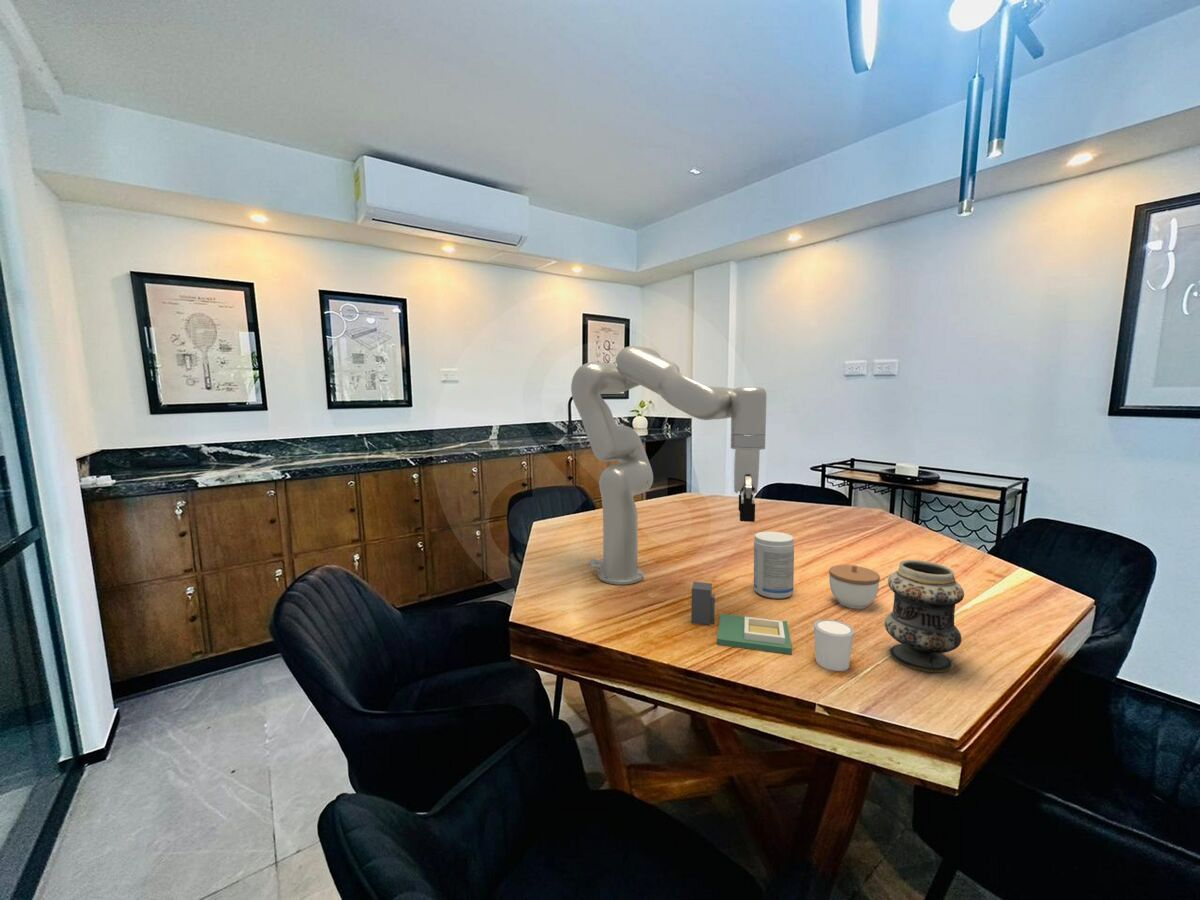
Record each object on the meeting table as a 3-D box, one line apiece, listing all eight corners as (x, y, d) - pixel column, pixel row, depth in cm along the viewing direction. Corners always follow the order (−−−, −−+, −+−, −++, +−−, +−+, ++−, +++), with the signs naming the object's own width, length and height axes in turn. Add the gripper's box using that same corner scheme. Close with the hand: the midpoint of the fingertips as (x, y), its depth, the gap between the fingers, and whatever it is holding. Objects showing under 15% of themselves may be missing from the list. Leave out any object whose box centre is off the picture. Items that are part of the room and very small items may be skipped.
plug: (691, 623, 107) (691, 588, 106) (693, 615, 111) (693, 581, 110) (713, 626, 106) (714, 590, 105) (714, 618, 110) (715, 583, 109)
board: (717, 644, 98) (717, 632, 98) (720, 618, 109) (720, 607, 109) (791, 654, 94) (792, 641, 93) (786, 626, 105) (787, 615, 105)
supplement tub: (801, 594, 122) (803, 537, 121) (777, 603, 117) (778, 543, 116) (768, 582, 130) (770, 528, 129) (745, 590, 125) (746, 534, 124)
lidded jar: (837, 591, 124) (839, 555, 123) (884, 603, 117) (886, 565, 116) (820, 603, 117) (822, 565, 116) (869, 617, 109) (871, 577, 108)
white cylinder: (805, 654, 94) (806, 619, 93) (839, 652, 94) (840, 617, 94) (824, 674, 87) (826, 636, 86) (861, 672, 88) (863, 635, 87)
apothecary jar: (969, 662, 90) (977, 568, 89) (943, 684, 84) (950, 583, 82) (899, 637, 100) (904, 552, 98) (870, 655, 93) (875, 564, 91)
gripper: (730, 438, 119) (729, 507, 121) (731, 445, 103) (729, 524, 104) (762, 439, 117) (760, 508, 119) (768, 445, 101) (766, 526, 103)
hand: (746, 516), depth 112 cm, fingers open, 9 cm apart
